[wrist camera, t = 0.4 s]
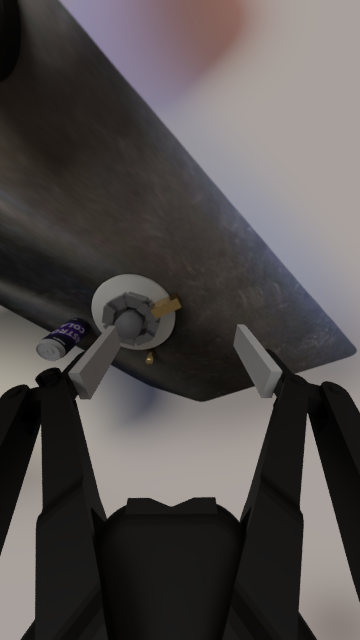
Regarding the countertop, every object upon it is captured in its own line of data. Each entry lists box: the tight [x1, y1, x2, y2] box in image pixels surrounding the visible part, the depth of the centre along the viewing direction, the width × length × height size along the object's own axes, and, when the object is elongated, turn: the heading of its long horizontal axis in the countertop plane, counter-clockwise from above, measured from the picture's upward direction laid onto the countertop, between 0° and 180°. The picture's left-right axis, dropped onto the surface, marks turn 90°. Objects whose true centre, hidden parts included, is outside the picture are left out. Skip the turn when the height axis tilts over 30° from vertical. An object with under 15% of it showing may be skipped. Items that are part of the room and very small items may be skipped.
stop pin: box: [146, 348, 155, 364], centre depth 45 cm, size 2×2×5 cm
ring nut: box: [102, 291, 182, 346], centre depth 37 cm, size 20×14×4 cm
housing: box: [92, 274, 175, 350], centre depth 38 cm, size 22×22×8 cm
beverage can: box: [36, 318, 89, 361], centre depth 37 cm, size 6×6×12 cm
